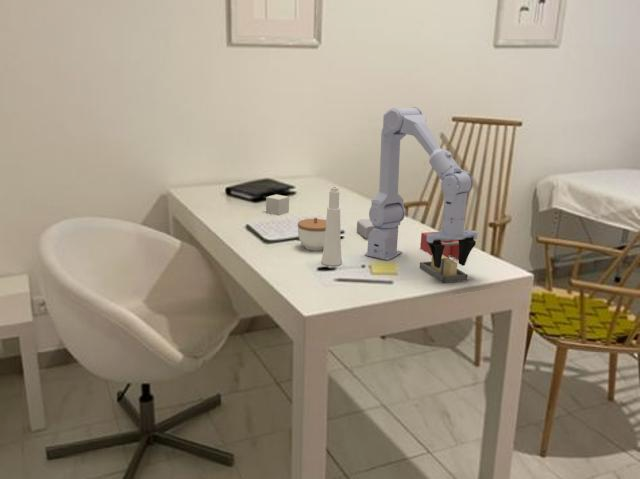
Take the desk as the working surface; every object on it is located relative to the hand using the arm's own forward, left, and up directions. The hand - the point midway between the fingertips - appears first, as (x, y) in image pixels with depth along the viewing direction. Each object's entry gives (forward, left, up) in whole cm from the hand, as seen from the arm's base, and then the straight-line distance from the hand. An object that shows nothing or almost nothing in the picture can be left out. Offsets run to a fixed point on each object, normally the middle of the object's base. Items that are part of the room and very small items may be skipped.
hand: (449, 265), depth 178 cm
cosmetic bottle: (-9, +32, -4) cm, 33 cm away
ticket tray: (+2, +2, -3) cm, 5 cm away
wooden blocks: (+2, +2, -3) cm, 4 cm away
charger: (+25, +38, -4) cm, 46 cm away
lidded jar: (0, +44, -4) cm, 44 cm away
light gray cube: (+27, +79, -4) cm, 83 cm away
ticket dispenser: (+19, +10, -3) cm, 22 cm away
